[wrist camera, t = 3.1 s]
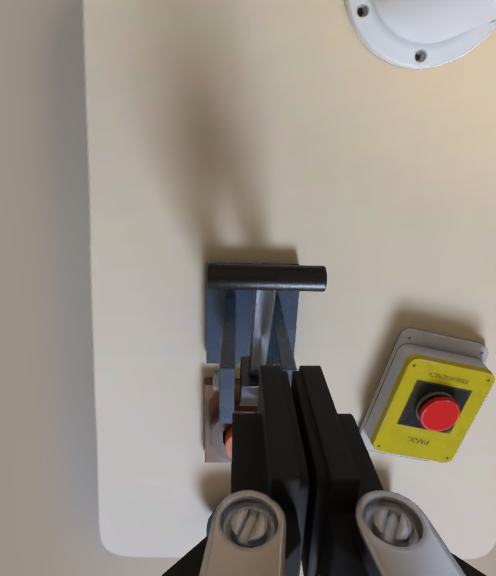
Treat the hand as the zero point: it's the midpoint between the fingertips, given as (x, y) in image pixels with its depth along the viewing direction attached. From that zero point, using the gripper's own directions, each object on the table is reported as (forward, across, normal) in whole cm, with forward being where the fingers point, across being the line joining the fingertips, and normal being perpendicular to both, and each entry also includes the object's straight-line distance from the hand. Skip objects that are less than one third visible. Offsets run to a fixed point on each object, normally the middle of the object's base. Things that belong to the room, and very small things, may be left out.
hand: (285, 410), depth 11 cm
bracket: (+27, 0, +9) cm, 28 cm away
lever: (+14, 0, +4) cm, 15 cm away
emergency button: (+27, -18, +19) cm, 37 cm away
